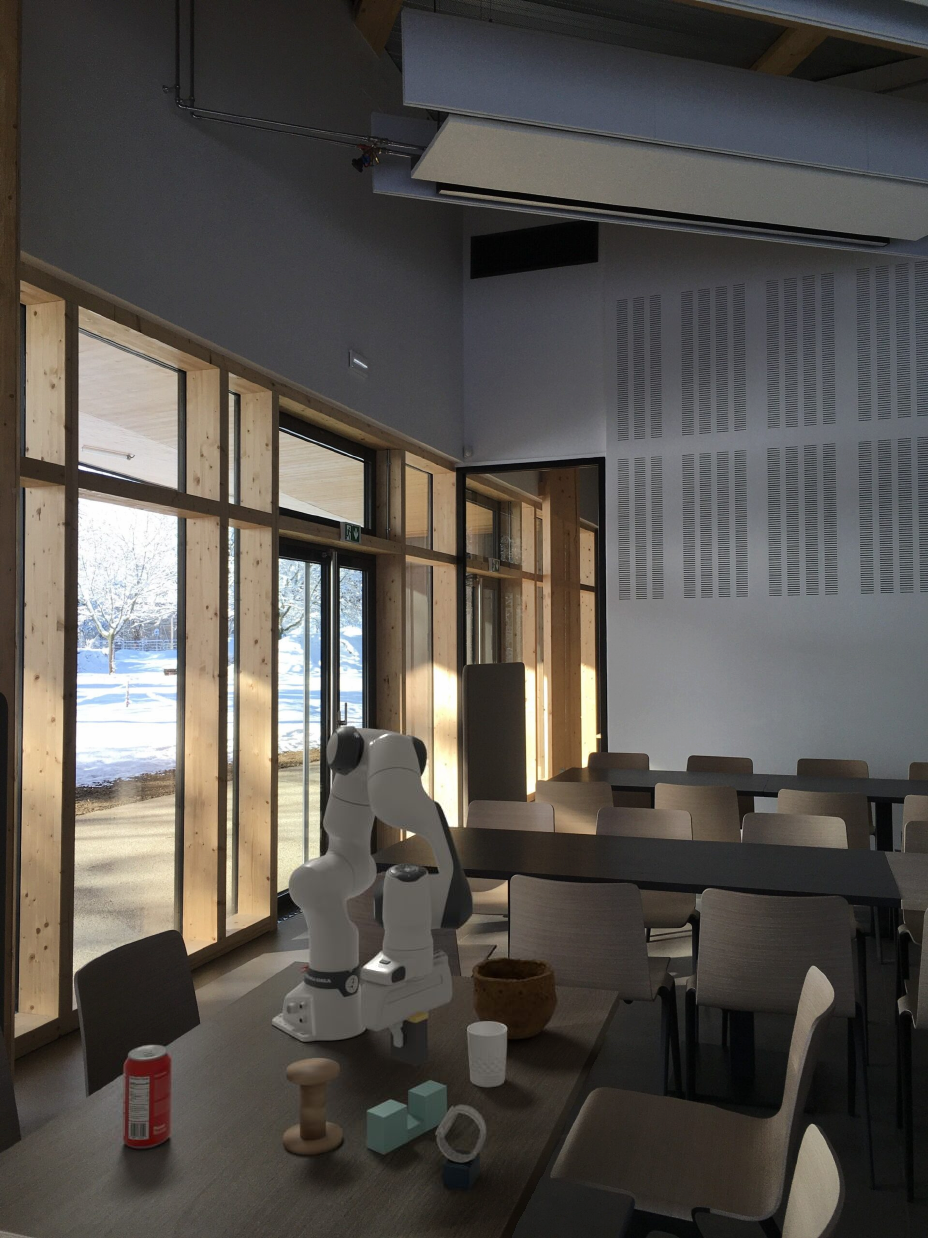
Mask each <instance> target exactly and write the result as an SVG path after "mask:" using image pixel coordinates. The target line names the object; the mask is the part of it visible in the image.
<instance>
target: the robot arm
mask: <svg viewBox="0 0 928 1238" xmlns="http://www.w3.org/2000/svg"><path fill="white" fill-rule="evenodd" d="M425 744H426V743H425V742H424V741H423V740H422V739H420V738H419V737H416V736H414V735H411V734H408V735H405V734H402V733H400V732H396V731H391V730H386V729H383V728H382V729H376V728H367V727H365V728H364V727H355V726H353V725H346V726H339V727H337V729H335V730H334V731H333V732H332V734H331V735H330V738H329V740H328V742H327V746H326V762H327V765H328V767H329V769H330V770H331V771H332V772H334V773H336V774H335V775H334V779H333V782H332V784H331V788H330V792H329V795H328V796H329V797H328V801H327V804H326V808H325V812H324V816H323V820H322V821H323V822H322V826H323V829H324V831H325V832H326V833H327V834H328V848H327V851H326V853H325V854H324V855H322V856H318V857H315V858H311V859H309V860H307V861H305V862H304V863H302V864H301V865H300V866H298V867H296V869H294V870H293V871H292V872H291V875H290V876H289V879H288V891H289V896H290V898H291V900H292V901H293V902H294V904H295V906H297V907H299V909H300V910H301V911H302V913H303V916H304V919H305V922H306V926H307V931H308V948H309V949H308V950H309V951H308V956H309V958H308V959H309V963H308V964H307V965H305V966H302V967H300V969H301V971H300V972H301V974H302V973H304V978H303V981H302V982H300V983H299V984H298V985H297V986H296V987H294V988H293V989H292V990H291V991H289V992H288V993H287V995H286V996H285V998H284V1000H283V1005H282V1013H279V1014H278V1015H276V1016H275V1017H273V1018H272V1020H271V1024H272V1026H274V1027H275V1028H278V1029H279V1030H282V1031H283V1032H284V1033H286V1034H288V1035H290V1036H292V1037H294V1038H295V1039H297V1040H298V1041H301V1042H306V1043H307V1042H314V1041H315V1042H316V1041H339V1040H346V1039H349V1038H354V1037H356V1036H359V1035H361V1034H362V1033H364V1032H365V1030H366V1029H368V1030H370V1031H374V1032H380V1031H382V1030H384V1029H386V1028H387V1029H389V1031H390V1033H391V1032H392V1034H393V1035H394V1045H395V1046H396V1047H402V1046H404V1045H406V1044H407V1041H406V1039H407V1035H405V1034H403V1033H402V1031H401V1029H400V1027H402V1026H403V1021H404V1020H407V1019H409V1018H410V1016H413V1015H415V1014H418V1013H420V1012H424V1013H427V1020H429V1019H428V1018H429V1011H431V1010H433V1009H436V1008H438V1007H441V1006H444V1005H446V1004H448V1003H449V1002H451V999H452V998H453V981H452V974H451V969H450V965H449V957H448V955H447V953H446V952H444V951H443V950H441V949H439V950H436V951H434V939H433V935H432V930H434V929H435V930H436V929H440V930H454V931H457V930H459V929H461V927H463V926H464V925H465V924H466V923H467V922H468V921H469V920H470V919H471V918H472V916H473V912H474V910H473V909H474V896H473V892H472V889H471V885H470V884H469V880H468V878H467V876H466V873H465V871H464V869H463V866H462V863H461V860H460V858H459V853H458V851H457V847H456V844H455V842H454V838H453V834H452V832H451V828H450V825H449V822H448V819H447V817H446V815H445V811H444V810H443V808H442V805H441V804H440V803H439V802H438V801H437V800H434V799H433V798H432V797H430V796H429V794H428V793H427V792H426V790H425V788H424V786H423V782H422V776H423V774H424V773H425V770H426V766H427V760H428V750H427V746H426V745H425ZM375 818H377V819H378V820H380V821H381V822H382V823H384V824H385V825H388V826H390V827H392V828H395V829H398V830H402V831H405V832H409V833H412V834H414V835H417V836H419V837H421V838H423V839H424V840H425V841H426V842H428V844H430V846H431V849H432V853H433V856H434V860H435V863H436V867H437V870H438V873H437V874H430V873H429V871H428V870H427V868H425V867H424V866H421V864H416V863H399V864H395V865H393V866H391V867H388V869H387V870H386V872H385V877H383V878H382V879H381V880H380V881H379V882H378V883H377V884H376V885H375V887H373V889H372V891H371V892H372V896H373V914H372V921H373V922H374V923H375V924H376V925H377V926H379V927H380V928H381V929H383V930H384V936H383V941H382V950H380V951H379V952H378V953H377V954H376V955H375V956H374V957H373V958H372V959H371V960H370V961H369V962H367V963H365V965H363V966H362V968H361V964H360V961H359V960H360V959H359V953H360V952H359V947H360V946H359V938H360V937H359V929H358V927H357V925H356V924H355V923H354V922H353V921H351V919H350V916H349V913H348V909H347V900H349V899H350V900H351V899H352V898H353V899H354V898H355V897H358V896H360V895H361V894H363V893H364V892H365V891H366V890H368V889H369V888H370V887H371V886H372V885H373V883H374V882H375V880H376V877H377V874H378V873H377V869H378V868H377V864H376V861H375V859H374V857H373V856H372V853H371V838H372V830H373V826H374V821H375ZM302 969H303V970H302ZM361 979H362V980H365V981H364V982H363V983H362V986H361V984H360V982H361Z"/></svg>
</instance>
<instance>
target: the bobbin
mask: <svg viewBox="0 0 928 1238" xmlns="http://www.w3.org/2000/svg"><path fill="white" fill-rule="evenodd" d="M285 1073H286V1075H285V1076H286V1079H287V1080H288V1081H289V1082H290V1083H292V1084H295V1085H299V1123H298V1124H297V1123H296V1124H294V1125H293V1126H291V1127H289V1128H288V1129H286V1131H284V1133H283V1136H282V1143H283V1147H284V1148H285V1149H286V1151H288V1152H291V1153H294V1154H297V1155H303V1156H305V1155H307V1156H308V1155H309V1156H310V1155H313V1156H314V1155H320V1154H323V1153H328V1152H330V1151H332V1150H335V1149H336V1148H338V1147H339V1146H340V1145H341V1144H342V1141H343V1130H342V1128H341V1127H340V1125H338V1124H336V1123H333V1122H330V1121H327V1120H326V1119H327V1084H328V1083H330V1082H332V1081H334V1080H335V1079H337V1078H338V1077H339V1076H340V1064H339V1063H338V1062H337V1061H335V1060H333V1059H330V1058H324V1057H323V1058H322V1057H321V1058H320V1057H312V1058H305V1059H301V1060H297V1061H295V1062H292V1063H291V1064H289V1065H287V1068H286V1072H285Z"/></svg>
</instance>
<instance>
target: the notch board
mask: <svg viewBox="0 0 928 1238" xmlns="http://www.w3.org/2000/svg"><path fill="white" fill-rule="evenodd" d="M447 1089H448V1087H447V1085H446V1084H443V1083H440V1082H436V1081H434V1080H431V1079H429V1080H427V1081H426V1082H423V1083H421V1084H419V1085H417V1086H415V1087H412V1088H411V1089H408V1091H407V1092H408V1093H407V1094H408V1095H407V1098H408V1100H407V1102H408V1105H407V1104H405V1103H402V1102H399V1101H396V1100H393V1099H388V1100H385V1101H384V1102H381V1103H380V1104H377V1105H376V1106H374V1107H372V1108H369V1109H367V1110H366V1148H367V1149H369V1150H372V1151H374V1152H377V1153H378V1154H381V1155H386V1154H388V1153H390V1152H392V1151H393V1150H396V1149H397V1148H399V1147H401V1146H403V1145H405V1144H407V1143H408V1142H410V1141H413V1139H416V1138H417V1137H420V1136H422V1135H423V1134H425V1133H426V1132H429V1131H431V1130H432V1129H434V1128H435V1127H438V1126H439V1125H440V1123H441V1121H442V1119H443V1118H444V1116H445V1115H446V1113H447V1112H448V1097H447V1096H448V1093H447V1091H448V1090H447Z"/></svg>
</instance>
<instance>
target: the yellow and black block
mask: <svg viewBox="0 0 928 1238" xmlns="http://www.w3.org/2000/svg"><path fill="white" fill-rule="evenodd" d="M400 1029H401V1031H402V1033H403V1034H405V1035H407V1039H406V1041H407V1044H406V1045H404V1046H402V1047H396V1046H395V1045H394V1035H393V1034H392V1032H391V1031H390V1059H393V1060H396V1061H400V1062H403V1063H405V1064H409V1065H411V1066H413V1067H414V1066H415V1067H418V1066H420V1065H422V1064H423V1063H426V1062H428V1061H429V1060H428V1059H429V1058H428V1057H429V1056H428V1052H429V1051H428V1050H429V1049H428V1048H429V1046H428V1042H429V1041H428V1019H427V1013H424V1012H420V1013H418V1014H415V1015H413V1016H410V1018H409V1019H407V1020H404V1021H403V1026H402V1027H400Z"/></svg>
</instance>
